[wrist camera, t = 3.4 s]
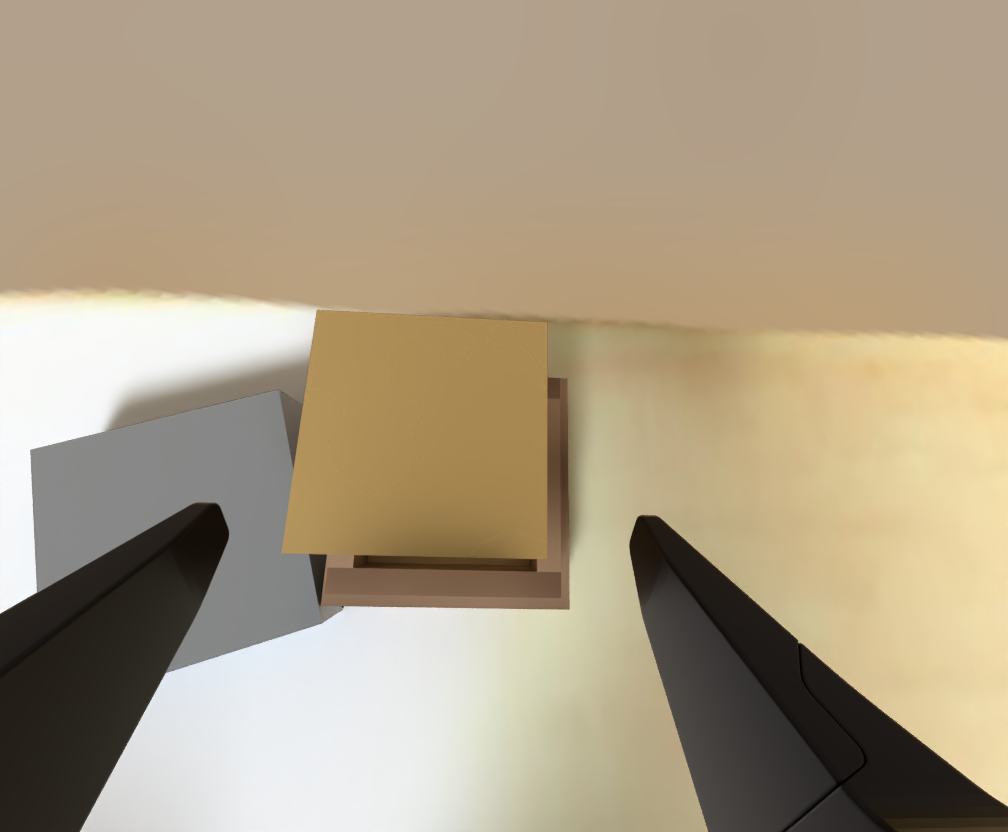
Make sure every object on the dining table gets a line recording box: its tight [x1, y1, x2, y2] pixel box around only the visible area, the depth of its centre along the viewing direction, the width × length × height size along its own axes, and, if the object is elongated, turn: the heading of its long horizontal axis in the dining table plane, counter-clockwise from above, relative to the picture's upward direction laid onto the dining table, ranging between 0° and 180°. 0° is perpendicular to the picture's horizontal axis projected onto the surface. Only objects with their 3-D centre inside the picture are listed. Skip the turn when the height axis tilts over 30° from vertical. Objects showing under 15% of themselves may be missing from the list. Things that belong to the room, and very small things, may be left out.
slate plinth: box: [30, 389, 343, 673], centre depth 17 cm, size 9×9×2 cm
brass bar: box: [281, 310, 547, 559], centre depth 12 cm, size 4×4×10 cm
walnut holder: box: [321, 378, 570, 610], centre depth 17 cm, size 9×9×4 cm
